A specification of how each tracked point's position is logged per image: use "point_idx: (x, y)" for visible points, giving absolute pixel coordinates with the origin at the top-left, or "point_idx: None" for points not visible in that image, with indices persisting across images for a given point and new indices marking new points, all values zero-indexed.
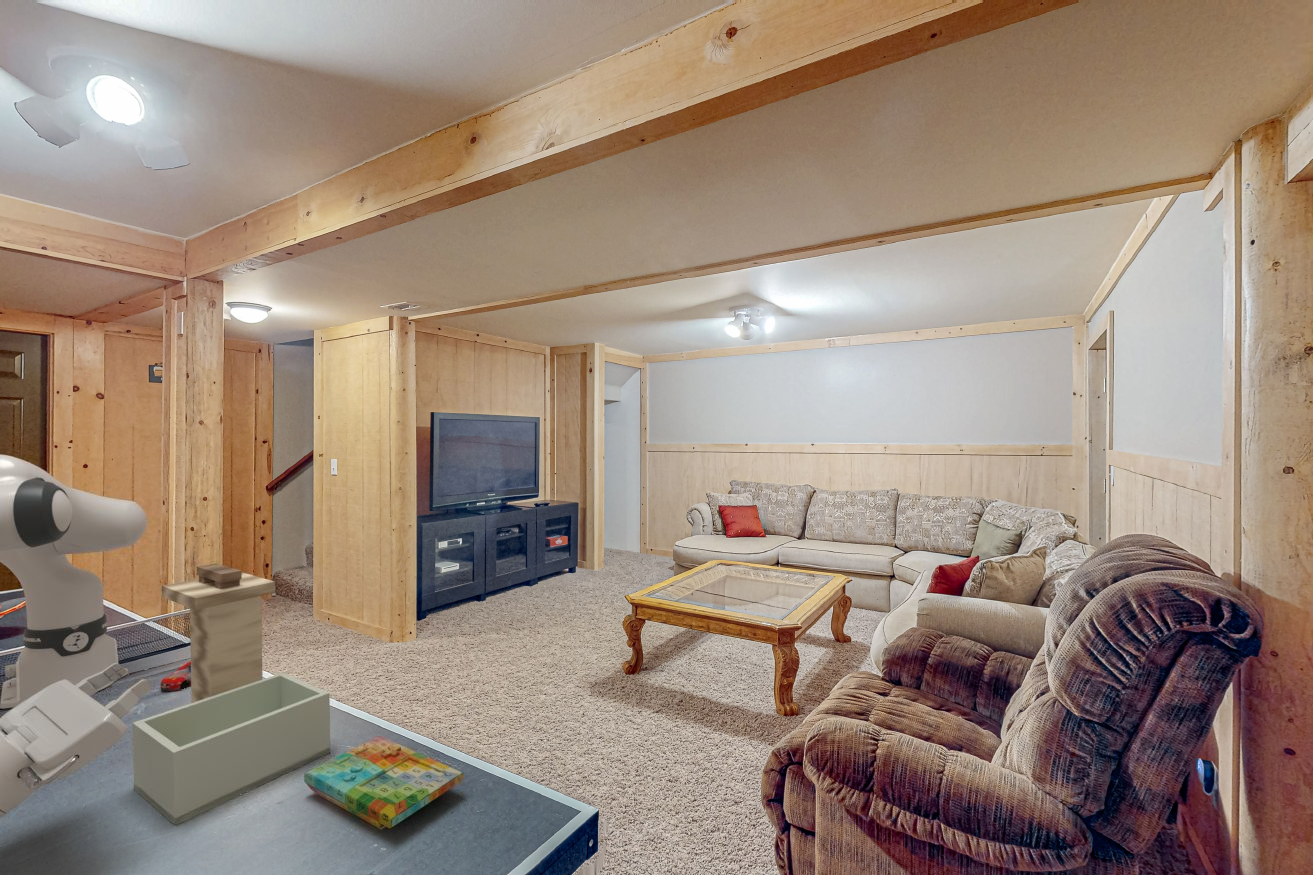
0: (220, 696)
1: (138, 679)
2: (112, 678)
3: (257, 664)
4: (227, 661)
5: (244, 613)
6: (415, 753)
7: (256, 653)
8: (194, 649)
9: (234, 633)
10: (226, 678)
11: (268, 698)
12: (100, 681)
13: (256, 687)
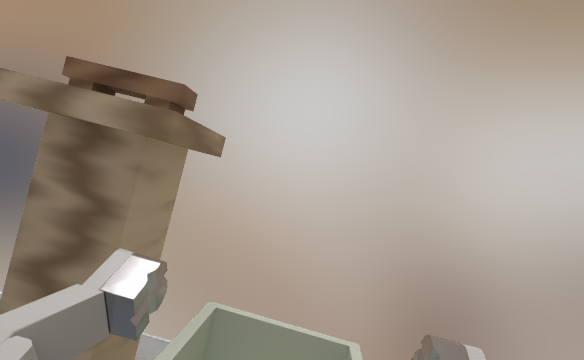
0: (176, 355)
1: (440, 344)
2: (140, 323)
3: None
4: None
5: (167, 181)
6: None
7: None
8: (37, 237)
9: (149, 216)
10: None
11: (200, 350)
12: (70, 338)
13: (201, 330)
